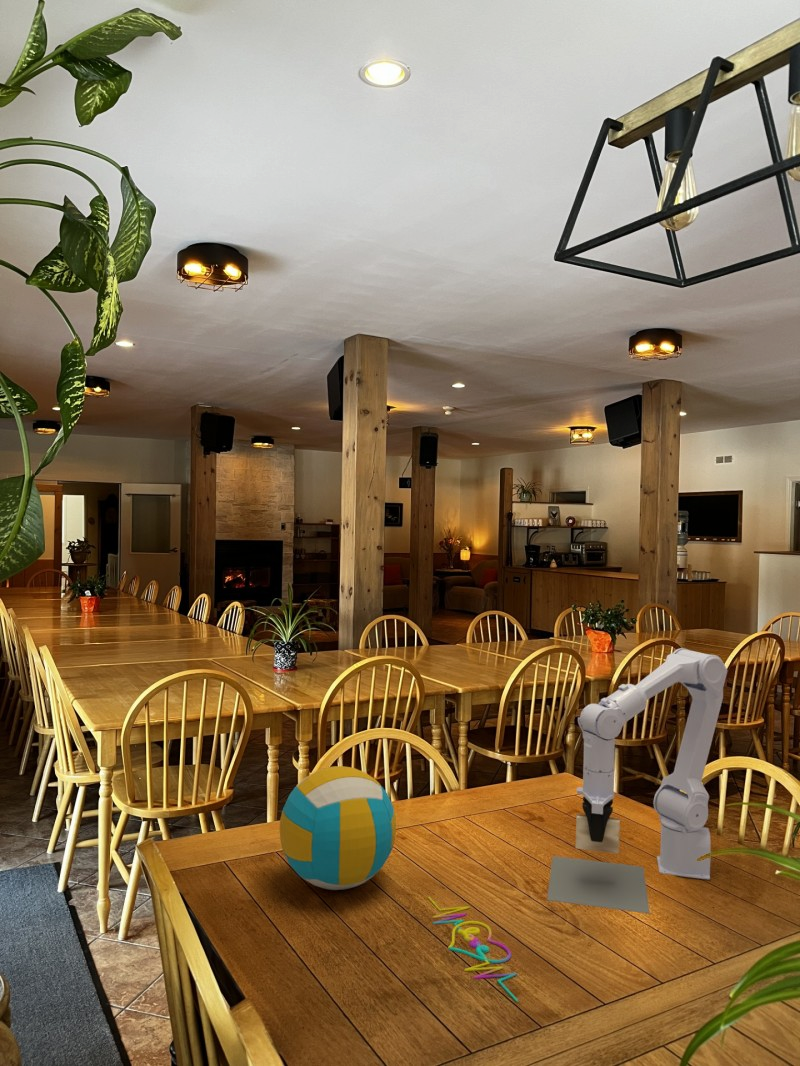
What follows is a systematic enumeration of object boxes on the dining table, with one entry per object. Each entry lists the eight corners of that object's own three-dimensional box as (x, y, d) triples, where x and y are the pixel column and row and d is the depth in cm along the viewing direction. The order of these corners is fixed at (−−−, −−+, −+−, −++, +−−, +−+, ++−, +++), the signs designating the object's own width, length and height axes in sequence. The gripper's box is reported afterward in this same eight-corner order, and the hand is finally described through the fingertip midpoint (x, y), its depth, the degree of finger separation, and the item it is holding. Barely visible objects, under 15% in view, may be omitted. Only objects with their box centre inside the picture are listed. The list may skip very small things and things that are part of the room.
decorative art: (495, 1009, 114) (554, 994, 118) (495, 1003, 114) (555, 989, 118) (405, 904, 145) (455, 895, 149) (405, 899, 145) (455, 890, 149)
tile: (618, 849, 154) (619, 818, 154) (618, 853, 152) (619, 822, 152) (576, 844, 156) (576, 813, 156) (575, 848, 154) (576, 817, 154)
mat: (643, 868, 162) (643, 866, 162) (649, 915, 142) (649, 913, 142) (552, 857, 166) (552, 856, 166) (546, 902, 146) (546, 899, 146)
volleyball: (414, 899, 146) (416, 779, 146) (298, 921, 137) (300, 794, 137) (369, 853, 166) (371, 747, 166) (265, 869, 157) (267, 758, 157)
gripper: (578, 755, 162) (577, 822, 162) (575, 777, 148) (573, 850, 148) (614, 758, 160) (613, 826, 160) (615, 781, 146) (613, 855, 146)
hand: (596, 838), depth 154 cm, fingers closed on tile, 2 cm apart
